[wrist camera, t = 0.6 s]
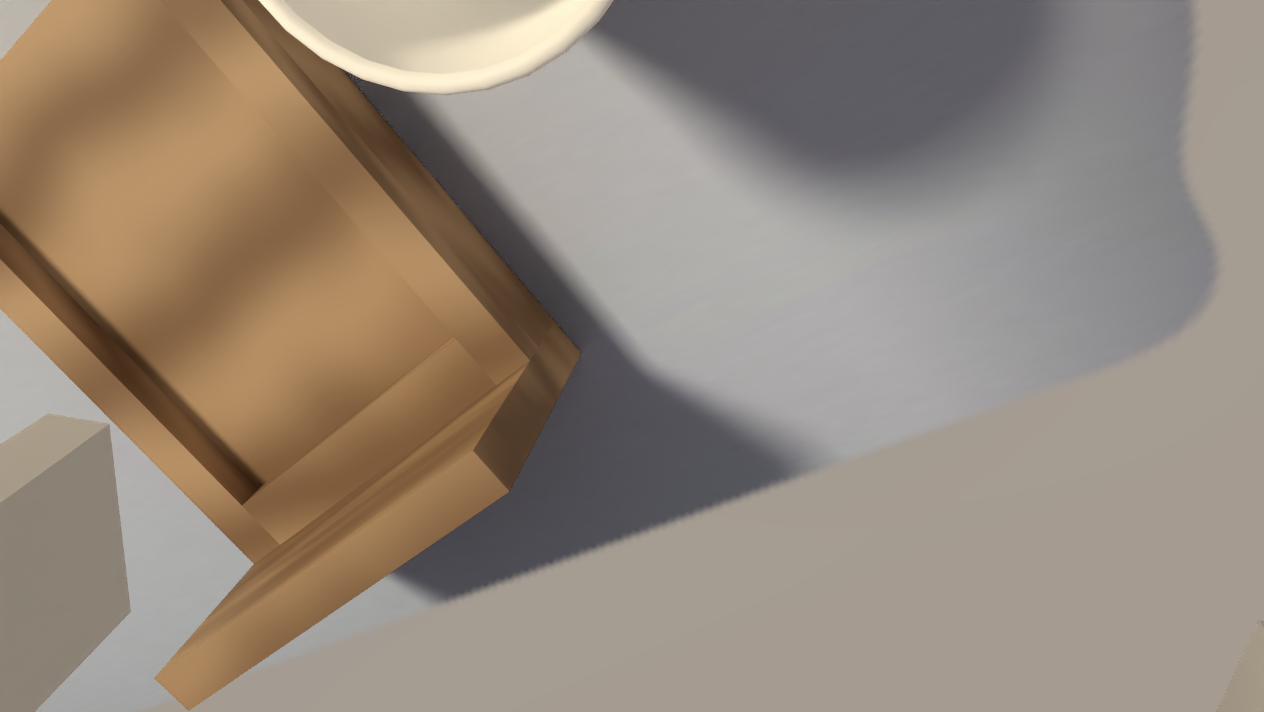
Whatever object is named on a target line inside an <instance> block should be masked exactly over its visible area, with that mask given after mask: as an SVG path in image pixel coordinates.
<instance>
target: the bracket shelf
mask: <svg viewBox="0 0 1264 712" xmlns="http://www.w3.org/2000/svg"><path fill="white" fill-rule="evenodd" d="M0 309H1V310H2V311H3V312H4V313H5V314H6V315H7V316H8V317H9V318H10V319H11V320H12V321H13V322H14V323H15V324H16V325H17V326H18V327H19V328H20V329H21V330H22V331H23V332H24V333H25V334H26V335H27V336H28V337H29V338H30V339H31V340H32V341H33V342H34V343H35V344H36V345H37V346H38V347H39V348H40V349H41V350H42V351H43V352H44V353H45V354H46V355H47V356H48V357H49V358H50V359H51V360H52V361H53V362H54V363H55V364H56V365H57V366H58V367H59V368H60V369H61V370H62V371H63V372H64V373H65V374H66V375H67V376H68V377H69V378H70V379H71V380H72V381H73V382H74V383H75V384H76V385H77V386H78V387H79V388H80V389H81V390H82V391H83V392H84V393H85V394H86V395H87V396H88V397H89V398H90V399H91V400H92V401H93V402H94V403H95V404H96V405H97V406H98V407H99V408H100V409H101V410H102V411H103V412H104V413H105V414H106V415H107V416H108V417H109V418H110V419H111V420H112V421H113V422H114V423H115V424H116V425H117V426H118V427H119V428H120V429H121V431H122V432H123V433H124V434H125V435H126V436H127V437H128V438H129V439H130V440H131V441H132V442H133V443H134V444H135V445H136V446H137V447H138V448H139V449H140V450H141V451H142V452H143V453H144V454H145V455H146V456H147V457H148V458H149V459H150V460H151V461H152V462H153V463H154V464H155V465H156V466H157V467H158V468H159V469H160V470H161V471H162V472H163V473H164V474H165V475H166V476H167V477H168V478H169V479H170V480H171V481H172V482H173V483H174V484H175V485H176V486H177V487H178V488H179V489H180V490H181V491H182V492H183V493H184V494H185V495H186V496H187V497H188V498H189V499H190V500H191V501H192V502H193V503H194V504H195V505H196V506H197V507H198V508H199V509H200V510H201V511H202V512H203V513H204V514H205V515H206V516H207V517H208V518H209V519H210V520H211V521H212V522H213V523H214V524H215V525H216V526H217V527H218V528H219V529H220V530H221V531H222V532H223V533H224V534H225V535H226V536H227V537H228V538H229V539H230V540H231V541H232V542H233V543H234V544H235V545H236V546H237V547H238V548H239V549H240V550H241V551H242V552H243V553H244V554H245V555H246V556H247V557H248V558H249V559H250V560H251V561H252V562H253V563H254V565H253V566H252V567H251V568H250V569H249V571H248V572H247V573H246V574H245V575H244V576H243V577H242V579H241V580H240V581H239V582H238V583H237V584H236V585H235V587H234V588H233V589H232V590H231V591H230V592H229V593H228V595H227V596H226V597H225V598H224V599H223V600H222V601H221V603H220V604H219V605H218V606H217V607H216V608H215V609H214V611H213V612H212V613H211V614H210V615H209V616H208V617H207V619H206V620H205V621H204V622H203V623H202V624H201V625H200V627H199V628H198V629H197V630H196V631H195V632H194V633H193V634H192V636H191V637H190V638H189V639H188V640H187V641H186V642H185V644H184V645H183V646H182V647H181V648H180V649H179V650H178V652H177V653H176V654H175V655H174V656H173V657H172V658H171V660H170V661H169V662H168V663H167V664H166V665H165V666H164V668H163V669H162V670H161V671H160V672H159V673H158V674H157V676H156V677H155V678H154V679H155V680H157V681H158V682H159V683H160V684H161V685H162V686H163V687H164V688H165V689H166V690H167V691H168V692H169V693H170V694H171V695H172V696H173V697H175V698H176V699H177V700H178V701H179V702H180V703H181V704H182V705H183V706H184V707H185V708H186V709H188V710H190V709H192V708H193V707H195V706H196V705H198V704H199V703H201V702H202V701H203V700H205V699H206V698H208V697H209V696H211V695H212V694H214V693H215V692H217V691H218V690H220V689H221V688H222V687H224V686H226V685H227V684H228V683H230V682H231V681H233V680H234V679H236V678H237V677H239V676H240V675H242V674H243V673H245V672H246V671H248V670H249V669H250V668H252V667H253V666H255V665H256V664H258V663H259V662H261V661H262V660H264V659H265V658H267V657H268V656H270V655H271V654H272V653H274V652H275V651H277V650H278V649H280V648H281V647H283V646H284V645H286V644H287V643H289V642H290V641H291V640H293V639H294V638H296V637H297V636H299V635H300V634H302V633H303V632H305V631H306V630H308V629H309V628H311V627H312V626H313V625H315V624H316V623H318V622H319V621H321V620H322V619H324V618H325V617H327V616H328V615H330V614H331V613H333V612H334V611H335V610H337V609H338V608H340V607H341V606H343V605H344V604H346V603H347V602H349V601H350V600H352V599H353V598H354V597H356V596H357V595H359V594H360V593H362V592H363V591H365V590H366V589H368V588H369V587H371V586H372V585H374V584H375V583H376V582H378V581H379V580H381V579H382V578H384V577H385V576H387V575H388V574H390V573H391V572H393V571H394V570H396V569H397V568H398V567H400V566H401V565H403V564H404V563H406V562H407V561H409V560H410V559H412V558H413V557H415V556H416V555H418V554H419V553H420V552H422V551H423V550H425V549H426V548H428V547H429V546H431V545H432V544H434V543H435V542H437V541H438V540H439V539H441V538H442V537H444V536H445V535H447V534H448V533H450V532H451V531H453V530H454V529H456V528H457V527H459V526H460V525H461V524H463V523H464V522H466V521H467V520H469V519H470V518H472V517H473V516H475V515H476V514H478V513H479V512H481V511H482V510H483V509H485V508H486V507H488V506H489V505H491V504H492V503H494V502H495V501H497V500H498V499H500V498H501V497H502V496H504V495H505V494H507V493H508V492H510V490H511V488H512V486H513V484H514V482H515V480H516V478H517V476H518V474H519V473H520V471H521V469H522V467H523V465H524V463H525V461H526V459H527V457H528V455H529V453H530V451H531V449H532V447H533V446H534V444H535V442H536V440H537V438H538V436H539V434H540V432H541V430H542V428H543V426H544V424H545V422H546V420H547V419H548V417H549V415H550V413H551V411H552V409H553V407H554V405H555V403H556V401H557V399H558V397H559V395H560V393H561V392H562V390H563V388H564V386H565V384H566V382H567V380H568V378H569V376H570V374H571V372H572V370H573V368H574V366H575V365H576V363H577V361H578V359H579V357H580V355H581V352H580V351H579V350H578V349H577V347H576V346H575V345H574V344H573V343H572V341H571V340H570V339H569V338H568V337H567V335H566V334H565V333H564V332H563V331H562V330H561V328H560V327H559V326H558V325H557V324H556V322H555V321H554V320H553V319H552V318H551V316H550V315H549V314H548V313H547V312H546V311H545V309H544V308H543V307H542V306H541V305H540V303H539V302H538V301H537V300H536V299H535V298H534V296H533V295H532V294H531V293H530V292H529V290H528V289H527V288H526V287H525V286H524V284H523V283H522V282H521V281H520V280H519V279H518V277H517V276H516V275H515V274H514V273H513V271H512V270H511V269H510V268H509V267H508V265H507V264H506V263H505V262H504V261H503V260H502V258H501V257H500V256H499V255H498V254H497V252H496V251H495V250H494V249H493V248H492V246H491V245H490V244H489V243H488V242H487V241H486V239H485V238H484V237H483V236H482V235H481V233H480V232H479V231H478V230H477V229H476V227H475V226H474V225H473V224H472V223H471V222H470V220H469V219H468V218H467V217H466V216H465V214H464V213H463V212H462V211H461V210H460V208H459V207H458V206H457V205H456V204H455V203H454V201H453V200H452V199H451V198H450V197H449V195H448V194H447V193H446V192H445V191H444V190H443V188H442V187H441V186H440V185H439V184H438V182H437V181H436V180H435V179H434V178H433V176H432V175H431V174H430V173H429V172H428V171H427V169H426V168H425V167H424V166H423V165H422V163H421V162H420V161H419V160H418V159H417V157H416V156H415V155H414V154H413V153H412V152H411V150H410V149H409V148H408V147H407V146H406V144H405V143H404V142H403V141H402V140H401V138H400V137H399V136H398V135H397V134H396V133H395V131H394V130H393V129H392V128H391V127H390V125H389V124H388V123H387V122H386V121H385V119H384V118H383V117H382V116H381V115H380V114H379V112H378V111H377V110H376V109H375V108H374V106H373V105H372V104H371V103H370V102H369V100H368V99H367V98H366V97H365V96H364V95H363V93H362V92H361V91H360V90H359V89H358V87H357V86H356V85H355V84H354V83H353V82H352V80H351V79H350V78H349V77H348V76H347V74H346V73H345V72H344V71H343V70H342V69H341V68H339V67H337V66H336V65H334V64H332V63H330V62H328V61H326V60H324V59H322V58H321V57H320V56H318V55H317V54H316V53H314V52H313V51H312V50H311V49H309V48H308V47H307V46H305V45H304V44H303V43H302V42H300V41H299V40H298V39H296V38H295V37H294V36H292V35H291V34H290V33H289V32H287V31H286V30H285V29H284V28H283V27H282V26H281V24H280V23H279V22H278V21H277V20H276V19H275V18H274V17H273V16H272V15H271V13H270V12H269V11H268V10H267V9H266V8H265V7H264V6H263V5H262V4H261V2H260V1H259V0H52V1H51V2H50V3H49V4H48V5H47V7H46V8H45V9H44V10H43V11H42V12H41V14H40V15H39V16H38V17H37V18H36V19H35V21H34V22H33V23H32V24H31V25H30V27H29V28H28V29H27V30H26V31H25V32H24V34H23V35H22V36H21V37H20V38H19V39H18V41H17V42H16V43H15V44H14V45H13V47H12V48H11V49H10V50H9V51H8V52H7V54H6V55H5V56H4V57H3V58H2V60H1V61H0Z"/></svg>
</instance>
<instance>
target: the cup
mask: <svg viewBox="0 0 1264 712" xmlns="http://www.w3.org/2000/svg"><path fill="white" fill-rule="evenodd" d="M259 1H260V2H261V4H262V5H263V6H264V7H265V8H266V9H267V10H268V11H269V12H270V13H271V15H272V16H273V17H274V18H275V19H276V20H277V21H278V22H279V23H280V24H281V26H282V27H283V28H284V29H285V30H286V31H287V32H289V33H290V34H291V35H292V36H294V37H295V38H296V39H298V40H299V41H300V42H302V43H303V44H304V45H305V46H307V47H308V48H309V49H311V50H312V51H313V52H314V53H316V54H317V55H318V56H320V57H321V58H322V59H324V60H326V61H328V62H330V63H332V64H334V65H336V66H337V67H339V68H341V69H343V70H345V71H347V72H349V73H351V74H353V75H355V76H357V77H359V78H361V79H363V80H366V81H370V82H373V83H377V84H380V85H383V86H387V87H390V88H394V89H397V90H400V91H405V92H417V93H428V94H440V95H450V94H458V93H466V92H474V91H482V90H489V89H492V88H495V87H497V86H500V85H503V84H506V83H509V82H512V81H514V80H517V79H520V78H523V77H526V76H529V75H530V74H532V73H534V72H535V71H537V70H538V69H540V68H542V67H543V66H545V65H547V64H548V63H550V62H551V61H553V60H555V59H556V58H558V57H560V56H561V55H563V54H564V53H566V52H567V51H568V50H569V49H570V48H571V47H572V46H574V45H575V44H576V43H577V42H578V41H579V40H580V39H581V38H582V37H583V36H584V35H585V34H586V33H587V32H588V31H589V30H590V29H591V28H592V27H594V26H595V25H596V24H597V23H598V22H599V21H600V19H601V18H602V17H603V15H604V14H605V12H606V11H607V9H608V8H609V7H610V5H611V4H612V2H613V1H614V0H259Z"/></svg>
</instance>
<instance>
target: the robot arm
mask: <svg viewBox="0 0 1264 712" xmlns="http://www.w3.org/2000/svg"><path fill="white" fill-rule="evenodd" d="M130 612H131V610H130V601H129V592H128V583H127V575H126V566H125V557H124V549H123V540H122V531H121V522H120V514H119V505H118V496H117V487H116V479H115V470H114V461H113V453H112V444H111V435H110V426H109V424H106V423H101V422H95V421H89V420H83V419H77V418H71V417H66V416H60V415H54V414H47V415H45V416H44V417H42V418H41V419H39V420H38V421H36V422H35V423H33V424H32V425H30V426H29V427H27V428H25V429H24V430H22V431H21V432H19V433H18V434H16V435H15V436H13V437H12V438H10V439H9V440H7V441H5V442H4V443H2V444H1V445H0V712H35V711H36V710H37V709H38V708H39V707H40V706H41V705H42V704H43V702H44V701H45V700H46V699H47V698H48V697H49V696H50V695H51V694H52V693H53V692H54V691H55V690H56V689H57V688H58V687H59V686H60V685H61V684H62V683H63V682H64V681H65V680H66V679H67V678H68V677H69V675H70V674H71V673H72V672H73V671H74V670H75V669H76V668H77V667H78V666H79V665H80V664H81V663H82V662H83V661H84V660H85V659H86V658H87V657H88V656H89V655H90V654H91V653H92V652H93V651H94V649H95V648H96V647H97V646H98V645H99V644H100V643H101V642H102V641H103V640H104V639H105V638H106V637H107V636H108V635H109V634H110V633H111V632H112V631H113V630H114V629H115V628H116V627H117V626H118V625H119V623H120V622H121V621H122V620H123V619H124V618H125V617H126V616H127V615H128V614H129V613H130ZM1217 712H1264V622H1263V621H1258V623H1257V625H1256V627H1255V629H1254V631H1253V634H1252V636H1251V638H1250V640H1249V642H1248V645H1247V647H1246V649H1245V651H1244V654H1243V656H1242V658H1241V660H1240V662H1239V664H1238V667H1237V669H1236V671H1235V673H1234V675H1233V677H1232V680H1231V682H1230V684H1229V686H1228V688H1227V690H1226V693H1225V695H1224V697H1223V699H1222V701H1221V704H1220V706H1219V708H1218V710H1217Z"/></svg>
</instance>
